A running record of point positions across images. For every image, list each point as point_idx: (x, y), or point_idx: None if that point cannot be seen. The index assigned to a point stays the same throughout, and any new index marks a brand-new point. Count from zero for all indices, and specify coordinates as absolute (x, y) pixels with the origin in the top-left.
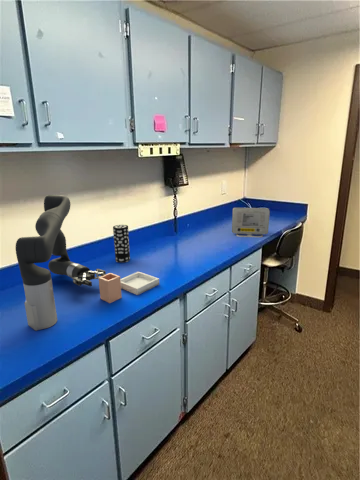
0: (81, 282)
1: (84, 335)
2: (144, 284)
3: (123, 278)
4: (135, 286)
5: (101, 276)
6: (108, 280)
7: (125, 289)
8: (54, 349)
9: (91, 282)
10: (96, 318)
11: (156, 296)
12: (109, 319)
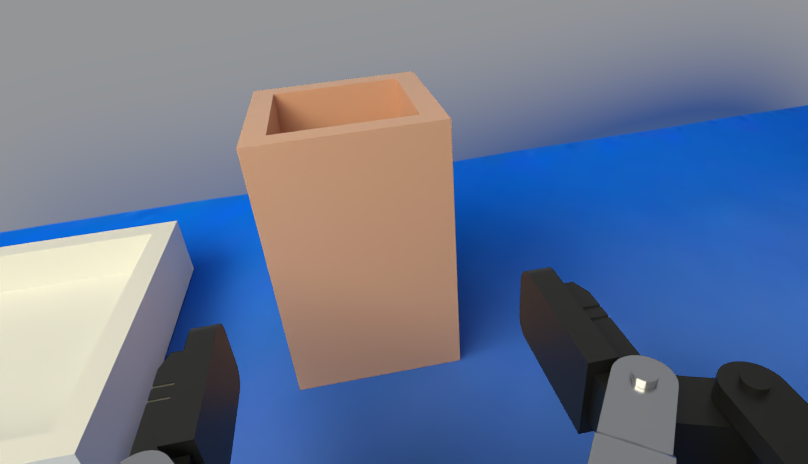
0: (703, 391)
1: (661, 139)
2: (66, 243)
3: None
4: (69, 335)
5: (403, 123)
6: (398, 76)
7: (156, 369)
8: (801, 124)
9: (526, 272)
10: (578, 193)
11: (147, 218)
12: (512, 171)
